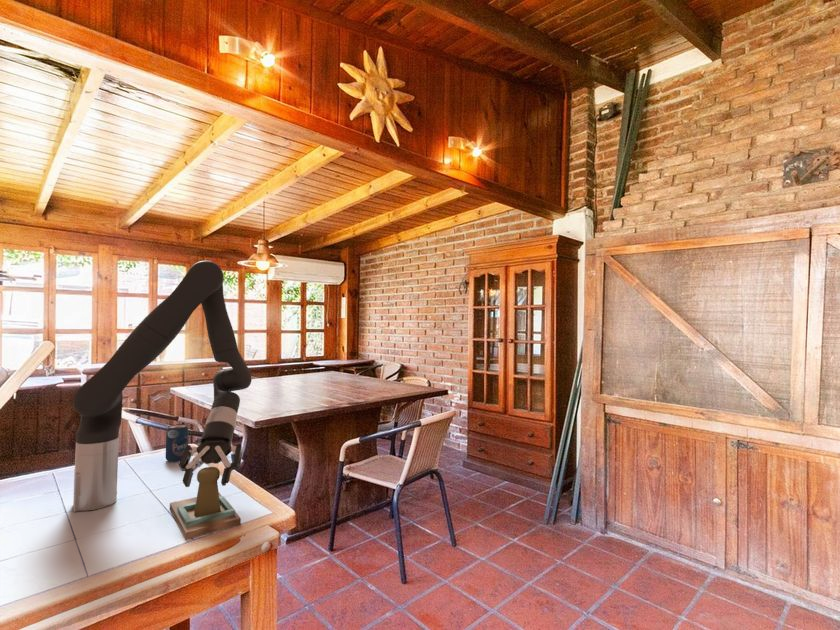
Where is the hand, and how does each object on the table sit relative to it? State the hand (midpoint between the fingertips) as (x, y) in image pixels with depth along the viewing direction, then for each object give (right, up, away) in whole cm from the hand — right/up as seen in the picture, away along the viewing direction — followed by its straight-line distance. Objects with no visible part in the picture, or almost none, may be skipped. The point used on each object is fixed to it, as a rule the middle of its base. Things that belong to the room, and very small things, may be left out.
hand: (205, 485), depth 105 cm
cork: (0, -8, +2) cm, 8 cm away
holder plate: (-2, -9, +3) cm, 10 cm away
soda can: (-33, -9, +45) cm, 57 cm away
